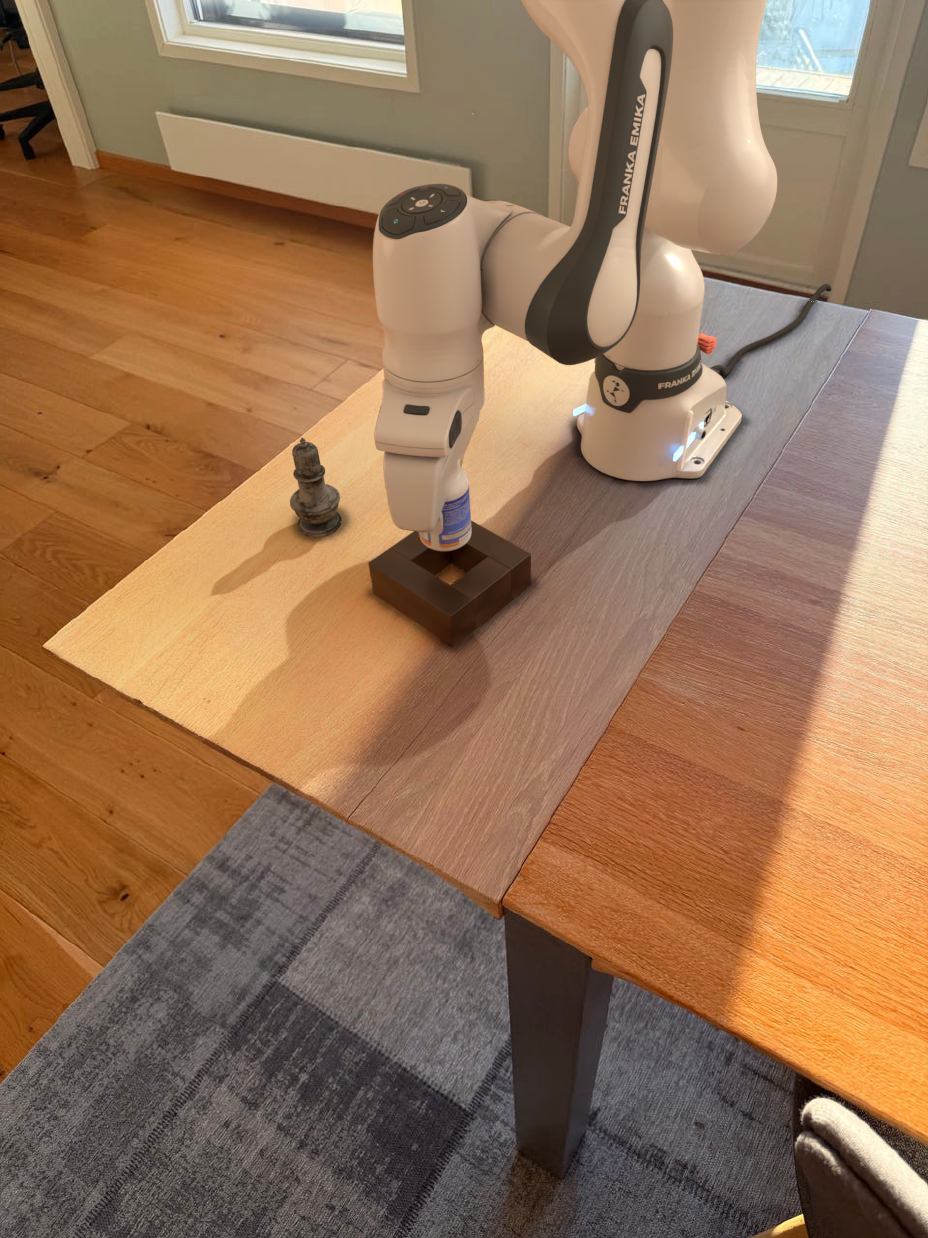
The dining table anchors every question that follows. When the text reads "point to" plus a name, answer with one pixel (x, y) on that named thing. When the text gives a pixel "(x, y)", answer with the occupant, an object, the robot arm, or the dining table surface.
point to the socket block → (464, 603)
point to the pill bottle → (453, 517)
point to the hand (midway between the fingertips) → (443, 508)
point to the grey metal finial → (313, 494)
